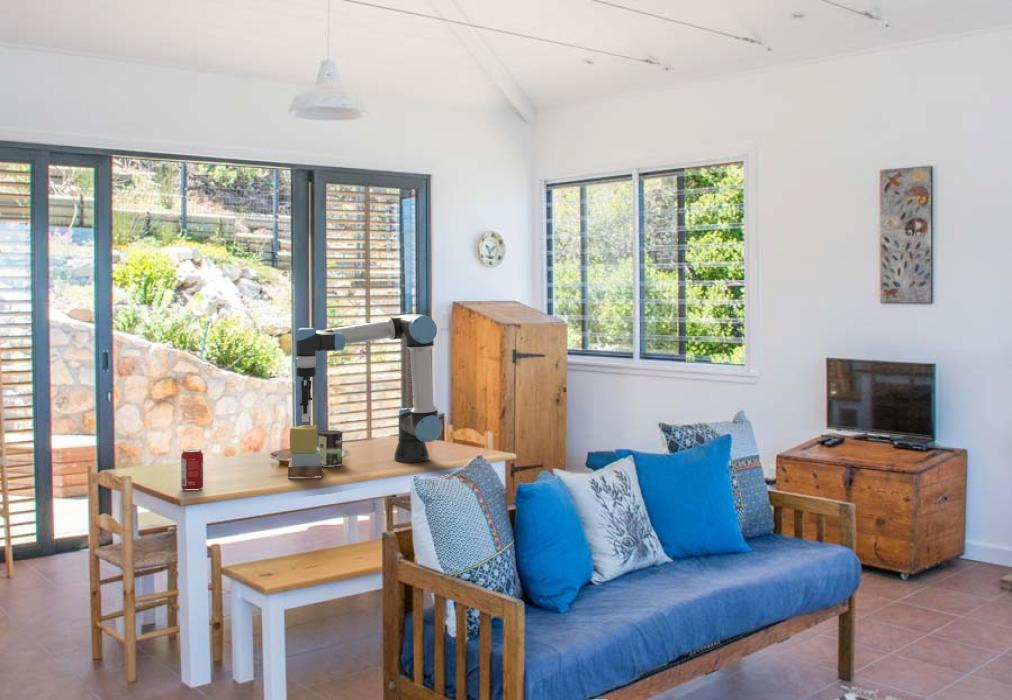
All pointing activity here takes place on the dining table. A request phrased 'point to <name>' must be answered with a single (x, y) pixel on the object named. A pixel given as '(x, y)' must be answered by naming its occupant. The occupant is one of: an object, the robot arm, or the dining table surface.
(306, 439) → the olive yellow cube
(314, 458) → the tower top
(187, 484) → the soda can
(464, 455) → the dining table surface
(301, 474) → the tower base
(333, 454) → the coffee can
